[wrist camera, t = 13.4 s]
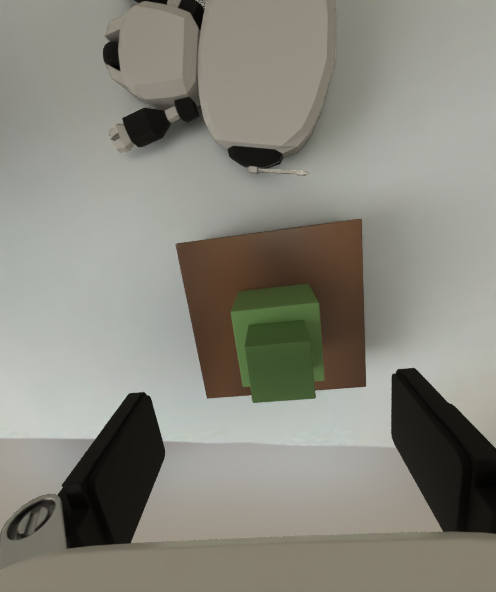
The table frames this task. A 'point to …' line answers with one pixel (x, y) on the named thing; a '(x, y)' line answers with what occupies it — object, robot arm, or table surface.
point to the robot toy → (225, 72)
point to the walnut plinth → (276, 273)
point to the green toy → (279, 342)
